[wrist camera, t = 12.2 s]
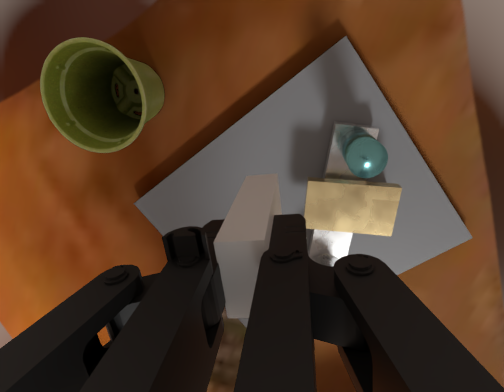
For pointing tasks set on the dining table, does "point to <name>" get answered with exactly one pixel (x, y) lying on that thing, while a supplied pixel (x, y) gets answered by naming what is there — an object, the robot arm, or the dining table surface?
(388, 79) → the dining table surface
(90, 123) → the plant pot
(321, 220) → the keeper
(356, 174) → the lever
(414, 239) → the base plate
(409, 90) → the dining table surface
